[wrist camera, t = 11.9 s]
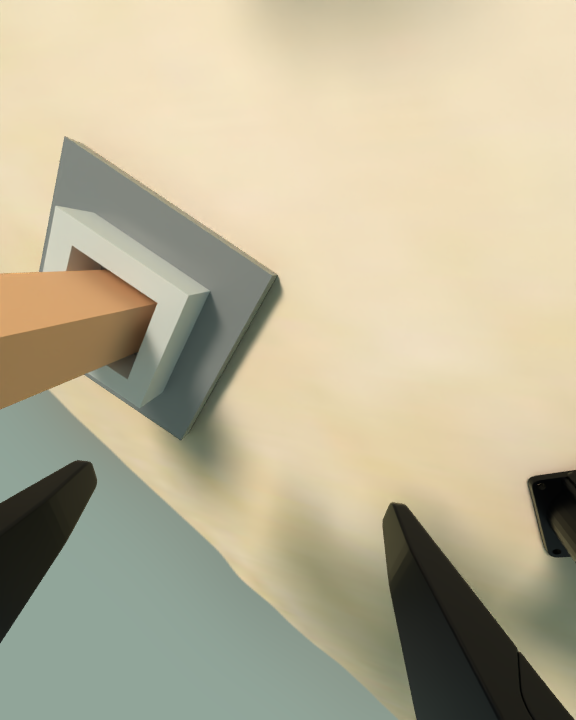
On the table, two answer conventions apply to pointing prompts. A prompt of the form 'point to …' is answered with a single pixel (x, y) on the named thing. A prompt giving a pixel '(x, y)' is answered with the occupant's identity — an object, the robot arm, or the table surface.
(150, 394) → the housing
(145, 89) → the table surface
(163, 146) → the table surface
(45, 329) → the tan square peg
